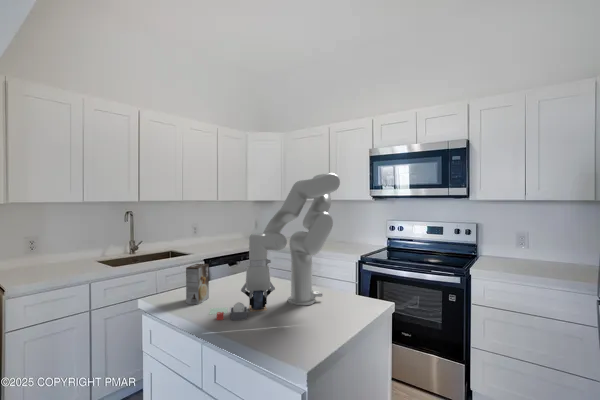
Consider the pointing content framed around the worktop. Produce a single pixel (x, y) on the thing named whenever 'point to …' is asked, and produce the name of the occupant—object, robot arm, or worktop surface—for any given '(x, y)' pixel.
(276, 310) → the worktop surface
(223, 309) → the game board
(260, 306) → the pawn
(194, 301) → the coffee box
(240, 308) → the popper dome
